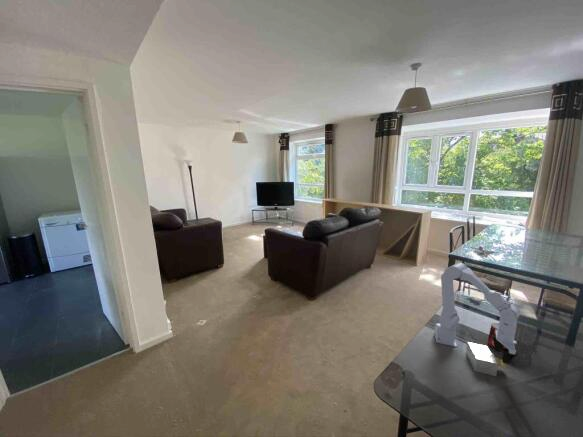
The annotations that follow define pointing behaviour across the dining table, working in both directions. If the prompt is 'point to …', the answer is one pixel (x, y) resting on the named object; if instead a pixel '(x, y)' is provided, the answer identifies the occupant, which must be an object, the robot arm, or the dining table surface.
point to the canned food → (492, 332)
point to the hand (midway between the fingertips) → (501, 357)
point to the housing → (481, 359)
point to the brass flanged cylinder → (499, 361)
